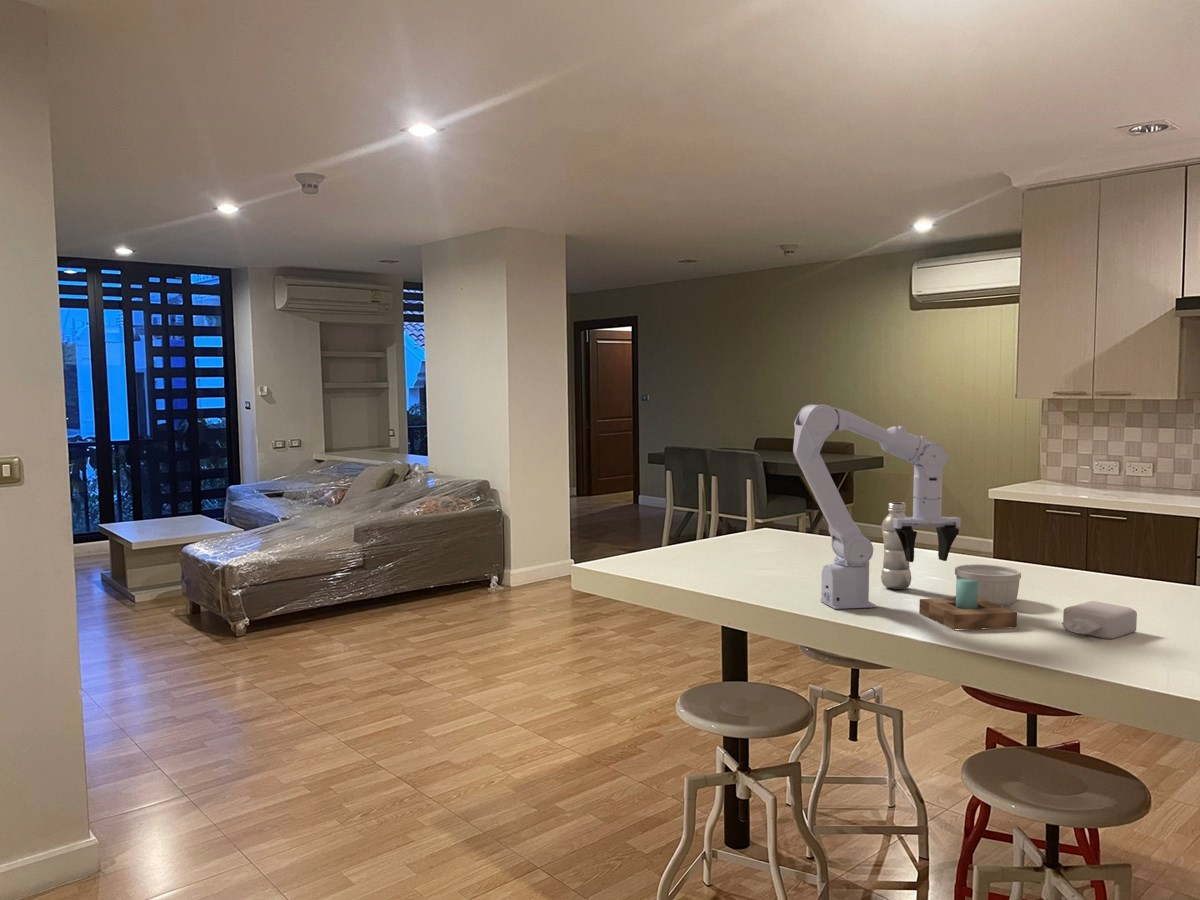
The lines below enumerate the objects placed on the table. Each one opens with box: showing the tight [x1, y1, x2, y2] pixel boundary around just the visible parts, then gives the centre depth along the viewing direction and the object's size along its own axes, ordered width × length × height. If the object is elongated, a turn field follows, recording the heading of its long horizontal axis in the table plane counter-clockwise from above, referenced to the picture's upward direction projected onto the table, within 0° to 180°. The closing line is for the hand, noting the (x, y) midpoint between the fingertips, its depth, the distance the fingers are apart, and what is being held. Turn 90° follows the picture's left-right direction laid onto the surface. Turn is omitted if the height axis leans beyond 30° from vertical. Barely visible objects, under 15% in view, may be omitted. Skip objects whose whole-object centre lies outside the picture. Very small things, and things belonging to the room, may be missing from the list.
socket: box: [918, 597, 1018, 631], centre depth 170 cm, size 13×13×3 cm
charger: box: [1061, 600, 1138, 640], centre depth 160 cm, size 5×9×15 cm
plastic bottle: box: [880, 501, 912, 590], centre depth 198 cm, size 6×7×20 cm
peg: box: [955, 578, 978, 609], centre depth 170 cm, size 4×4×8 cm
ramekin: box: [954, 563, 1022, 607], centre depth 187 cm, size 13×13×7 cm
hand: (926, 560), depth 183 cm, fingers open, 7 cm apart
